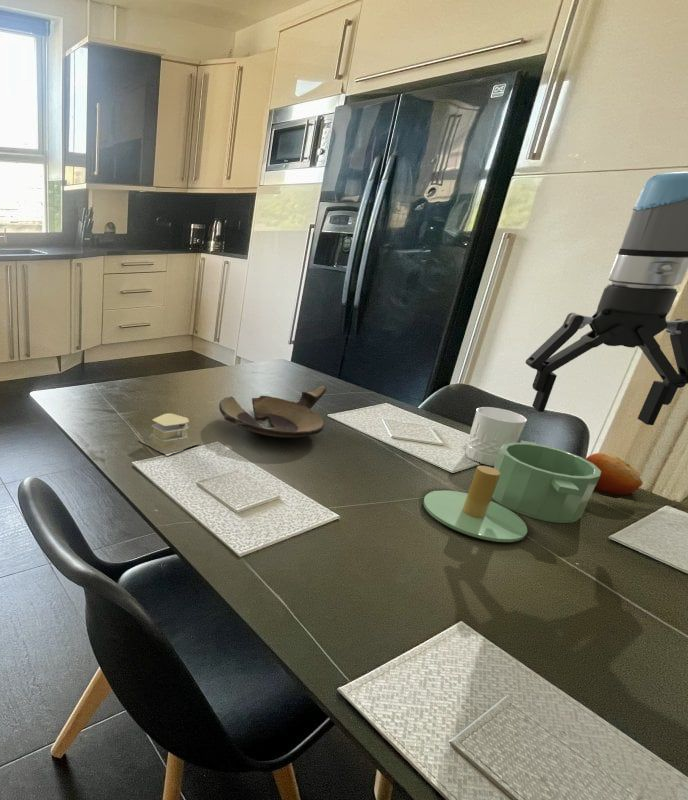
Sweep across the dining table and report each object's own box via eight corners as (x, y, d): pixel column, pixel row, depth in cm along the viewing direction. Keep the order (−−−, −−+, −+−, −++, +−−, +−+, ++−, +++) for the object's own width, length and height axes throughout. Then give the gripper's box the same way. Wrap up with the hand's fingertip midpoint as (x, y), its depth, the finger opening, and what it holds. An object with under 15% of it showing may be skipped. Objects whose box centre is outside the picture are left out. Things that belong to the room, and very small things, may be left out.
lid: (509, 507, 83) (527, 460, 80) (538, 555, 72) (561, 502, 68) (416, 489, 89) (430, 444, 85) (429, 530, 77) (446, 480, 74)
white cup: (468, 446, 105) (482, 404, 101) (514, 460, 99) (531, 415, 96) (456, 457, 100) (471, 413, 97) (504, 472, 95) (521, 425, 91)
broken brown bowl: (198, 414, 120) (202, 385, 117) (309, 407, 125) (314, 379, 122) (240, 456, 99) (245, 422, 96) (370, 447, 104) (378, 414, 101)
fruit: (556, 466, 94) (599, 440, 90) (594, 494, 92) (640, 469, 88) (567, 485, 88) (614, 457, 83) (609, 516, 86) (659, 489, 82)
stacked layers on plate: (167, 457, 99) (169, 432, 97) (137, 441, 105) (139, 417, 103) (200, 444, 104) (203, 421, 102) (170, 430, 111) (172, 407, 109)
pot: (556, 485, 90) (573, 444, 87) (603, 541, 75) (626, 494, 72) (474, 470, 95) (488, 431, 92) (502, 519, 80) (520, 475, 77)
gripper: (545, 283, 74) (503, 411, 82) (783, 293, 65) (710, 437, 72) (528, 278, 81) (490, 397, 88) (742, 286, 71) (679, 419, 79)
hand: (589, 415), depth 80 cm, fingers open, 13 cm apart
